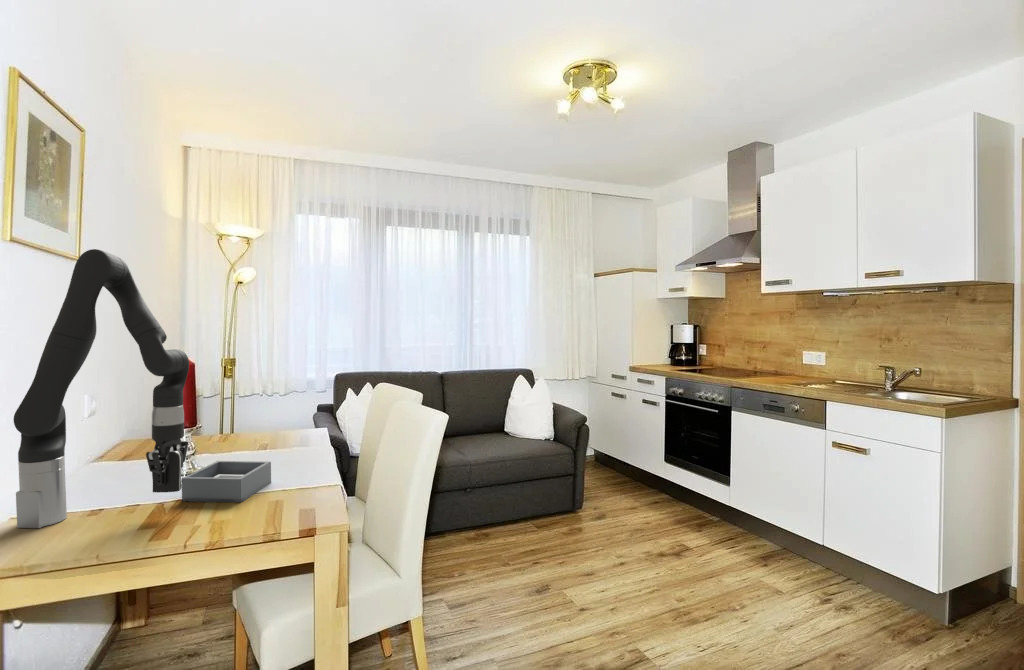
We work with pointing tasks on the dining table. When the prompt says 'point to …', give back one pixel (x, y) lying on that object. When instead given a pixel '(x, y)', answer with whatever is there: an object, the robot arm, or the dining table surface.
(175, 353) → the robot arm
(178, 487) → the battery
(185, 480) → the walled box
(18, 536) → the dining table surface
